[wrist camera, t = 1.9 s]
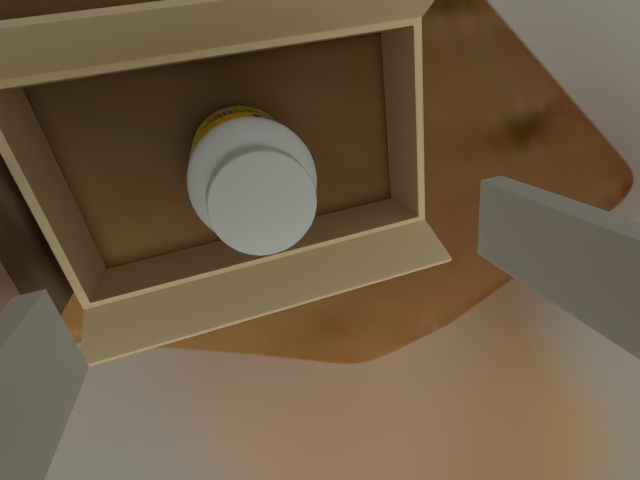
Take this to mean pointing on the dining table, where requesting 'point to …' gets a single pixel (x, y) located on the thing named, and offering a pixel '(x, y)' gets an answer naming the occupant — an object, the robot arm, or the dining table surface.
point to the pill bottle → (251, 180)
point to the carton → (217, 257)
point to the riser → (25, 250)
